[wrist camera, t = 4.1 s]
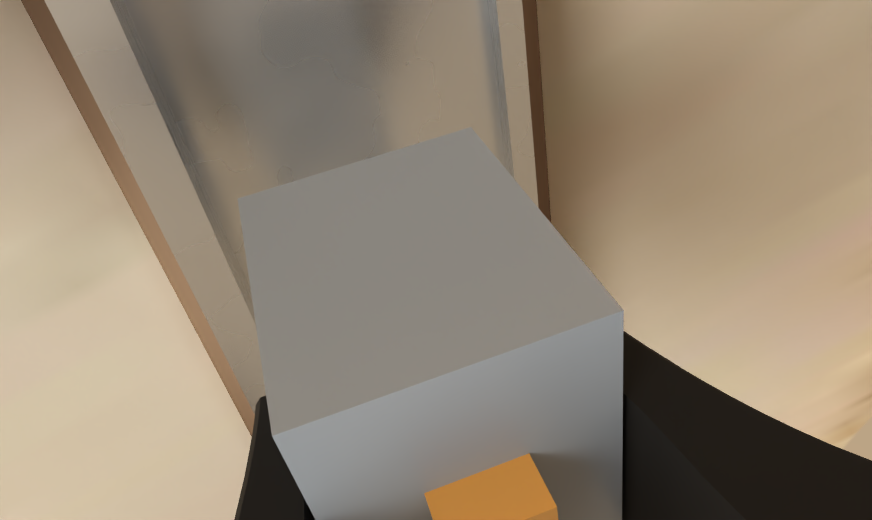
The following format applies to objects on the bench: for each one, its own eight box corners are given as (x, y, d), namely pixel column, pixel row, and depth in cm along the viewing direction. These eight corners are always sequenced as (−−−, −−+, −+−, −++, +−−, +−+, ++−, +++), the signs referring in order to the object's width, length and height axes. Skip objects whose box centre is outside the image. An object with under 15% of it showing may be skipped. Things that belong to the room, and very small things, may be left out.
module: (470, 127, 11) (663, 358, 7) (506, 366, 15) (647, 619, 11) (237, 198, 11) (282, 500, 6) (334, 429, 15) (405, 722, 10)
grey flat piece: (446, -495, 11) (499, -550, 10) (535, 377, 25) (564, 425, 23) (-117, -407, 10) (-184, -450, 8) (298, 461, 24) (308, 520, 22)
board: (471, -669, 11) (489, -697, 10) (554, 388, 27) (563, 403, 26) (-268, -582, 9) (-300, -606, 9) (284, 485, 25) (286, 503, 25)
